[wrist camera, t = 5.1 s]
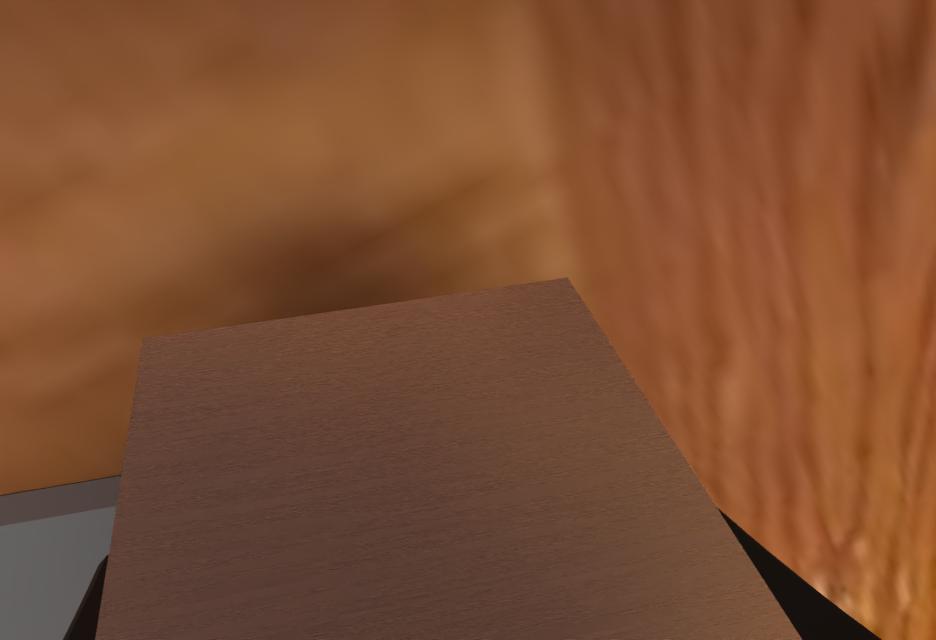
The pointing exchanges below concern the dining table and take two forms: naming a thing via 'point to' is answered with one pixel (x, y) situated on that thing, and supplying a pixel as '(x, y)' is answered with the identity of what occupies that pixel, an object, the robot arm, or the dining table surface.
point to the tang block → (51, 554)
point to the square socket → (416, 486)
